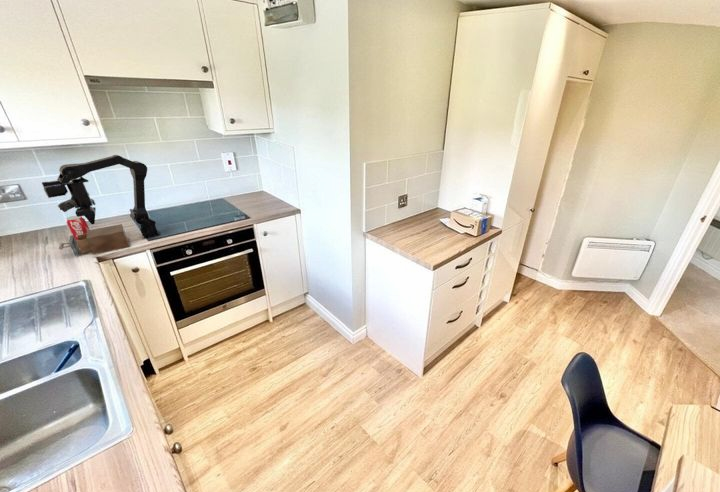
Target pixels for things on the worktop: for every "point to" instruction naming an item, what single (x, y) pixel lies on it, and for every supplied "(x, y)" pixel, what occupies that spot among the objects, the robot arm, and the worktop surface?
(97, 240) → the cabinet
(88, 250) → the drawer
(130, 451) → the worktop surface
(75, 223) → the soda can
